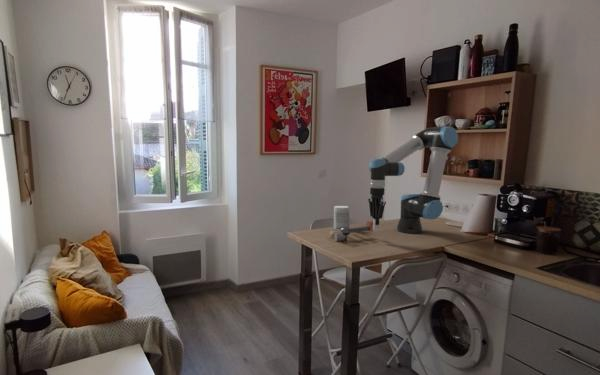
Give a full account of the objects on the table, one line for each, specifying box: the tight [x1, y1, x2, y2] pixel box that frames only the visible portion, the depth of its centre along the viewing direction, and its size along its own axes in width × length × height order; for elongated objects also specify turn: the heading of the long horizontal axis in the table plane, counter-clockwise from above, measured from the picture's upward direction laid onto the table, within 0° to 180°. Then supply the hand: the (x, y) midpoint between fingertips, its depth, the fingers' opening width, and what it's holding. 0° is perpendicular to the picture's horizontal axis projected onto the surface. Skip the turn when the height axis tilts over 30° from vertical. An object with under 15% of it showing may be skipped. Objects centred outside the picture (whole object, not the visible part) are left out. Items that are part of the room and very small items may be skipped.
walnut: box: [329, 230, 340, 239], centre depth 192 cm, size 5×5×4 cm
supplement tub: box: [333, 205, 350, 230], centre depth 216 cm, size 10×10×15 cm
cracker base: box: [326, 232, 383, 248], centre depth 189 cm, size 23×20×2 cm
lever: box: [334, 220, 374, 241], centre depth 190 cm, size 24×5×8 cm, turn 117°
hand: (375, 230), depth 189 cm, fingers closed
